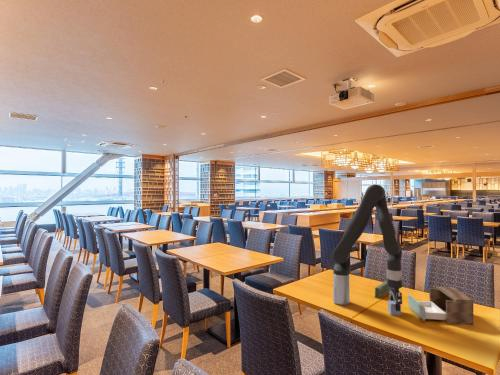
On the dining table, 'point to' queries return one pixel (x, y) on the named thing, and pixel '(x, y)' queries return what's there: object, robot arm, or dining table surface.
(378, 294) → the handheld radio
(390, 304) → the slate block
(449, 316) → the open wooden box
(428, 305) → the tray
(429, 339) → the dining table surface
